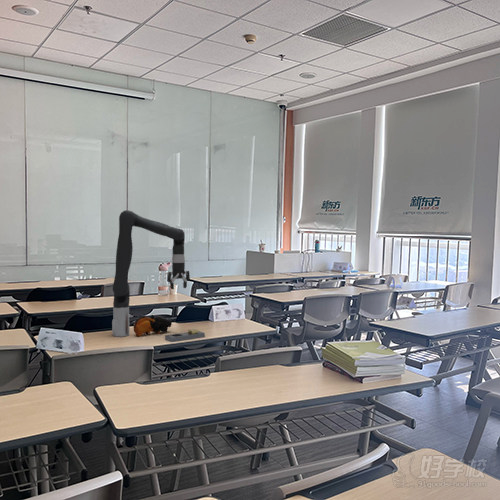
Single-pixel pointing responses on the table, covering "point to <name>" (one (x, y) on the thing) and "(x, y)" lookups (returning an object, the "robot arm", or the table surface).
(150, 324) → the toy guinea pig
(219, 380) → the table surface
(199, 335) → the grey flat block
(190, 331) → the yellow cube
